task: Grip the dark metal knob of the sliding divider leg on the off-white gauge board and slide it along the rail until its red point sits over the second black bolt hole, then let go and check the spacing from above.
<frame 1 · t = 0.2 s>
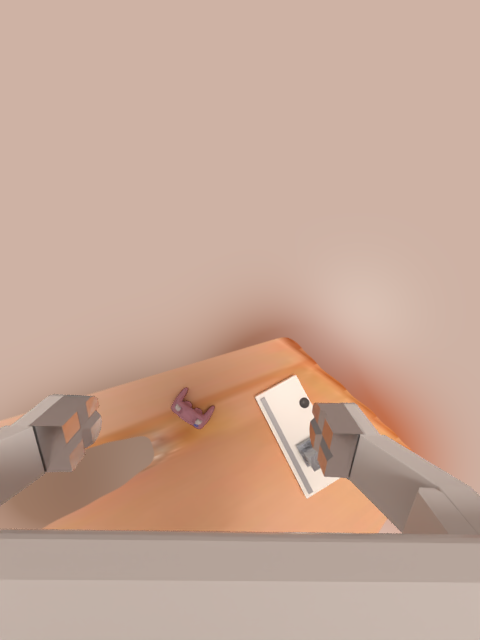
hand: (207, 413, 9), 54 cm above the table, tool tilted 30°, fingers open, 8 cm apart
divider leg: (317, 452, 54), point 5 cm above the table, slide at 0.0 cm
video game controller: (194, 406, 60), on the table
gauge board: (298, 431, 59), on the table
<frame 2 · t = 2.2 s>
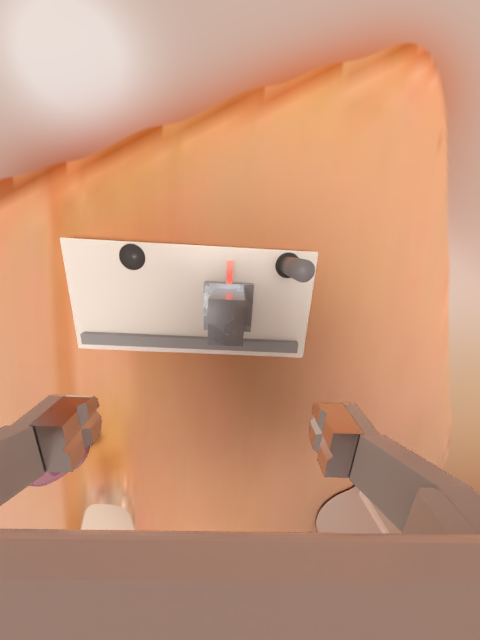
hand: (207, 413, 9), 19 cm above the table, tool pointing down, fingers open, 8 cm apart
divider leg: (227, 301, 22), point 5 cm above the table, slide at 0.0 cm
video game controller: (67, 432, 33), on the table
gauge board: (194, 298, 27), on the table
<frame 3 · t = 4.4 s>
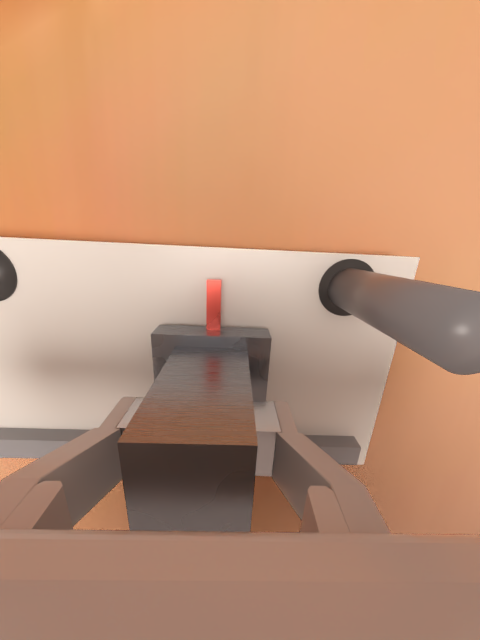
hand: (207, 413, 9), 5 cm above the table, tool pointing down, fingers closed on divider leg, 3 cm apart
divider leg: (205, 392, 8), point 5 cm above the table, slide at 0.0 cm, touching gripper
gauge board: (148, 351, 14), on the table
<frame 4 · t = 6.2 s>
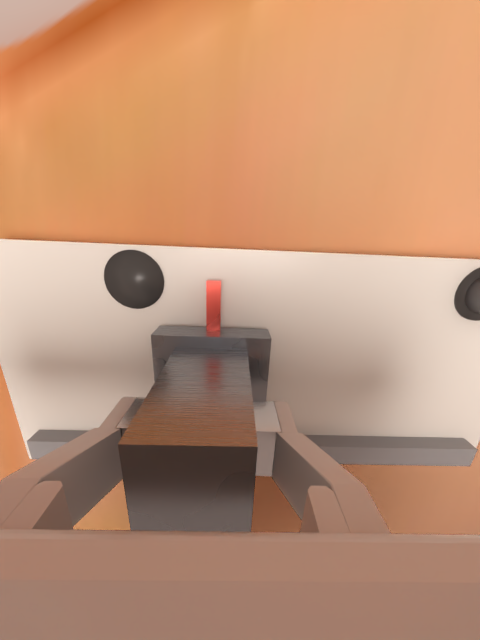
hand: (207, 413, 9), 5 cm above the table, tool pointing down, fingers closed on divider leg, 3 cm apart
divider leg: (206, 393, 8), point 5 cm above the table, slide at 6.4 cm, touching gripper
gauge board: (258, 355, 14), on the table
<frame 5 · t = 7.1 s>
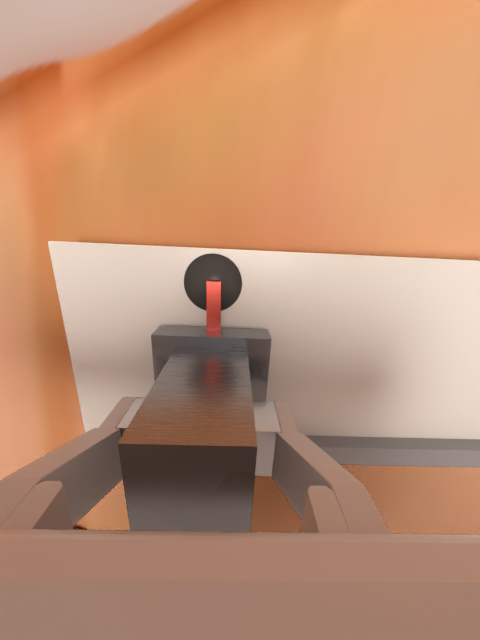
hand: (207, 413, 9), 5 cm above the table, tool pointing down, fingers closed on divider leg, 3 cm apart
divider leg: (206, 393, 8), point 5 cm above the table, slide at 9.9 cm, touching gripper
gauge board: (315, 357, 14), on the table
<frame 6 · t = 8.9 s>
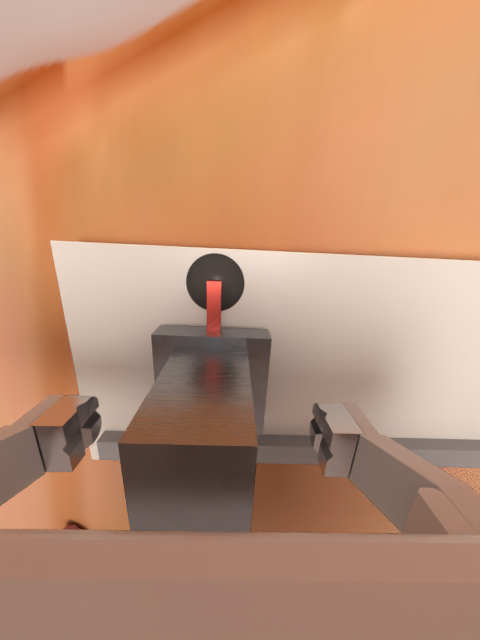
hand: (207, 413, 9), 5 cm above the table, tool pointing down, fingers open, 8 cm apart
divider leg: (206, 393, 8), point 5 cm above the table, slide at 10.0 cm
gauge board: (317, 357, 14), on the table
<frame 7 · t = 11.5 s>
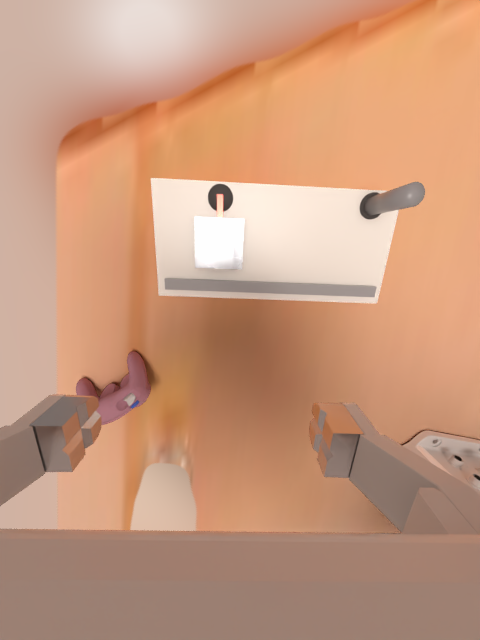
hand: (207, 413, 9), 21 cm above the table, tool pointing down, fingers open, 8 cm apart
divider leg: (218, 231, 22), point 5 cm above the table, slide at 10.0 cm
video game controller: (122, 378, 33), on the table
gauge board: (271, 246, 27), on the table
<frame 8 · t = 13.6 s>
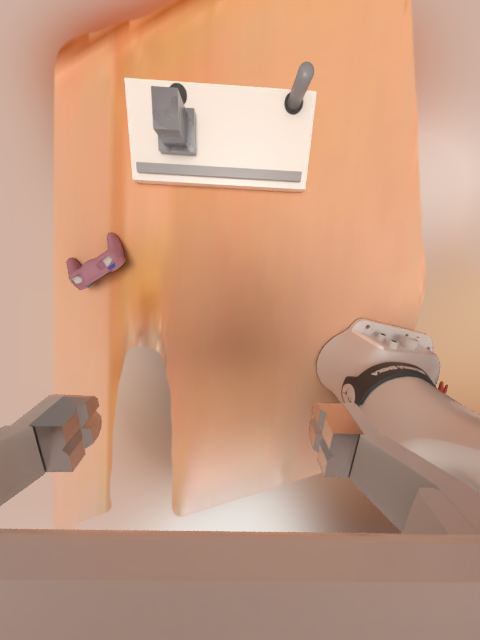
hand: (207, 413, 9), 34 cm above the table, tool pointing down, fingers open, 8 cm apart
divider leg: (171, 111, 29), point 5 cm above the table, slide at 10.0 cm
video game controller: (104, 261, 40), on the table
gauge board: (221, 143, 35), on the table
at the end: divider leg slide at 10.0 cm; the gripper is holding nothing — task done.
